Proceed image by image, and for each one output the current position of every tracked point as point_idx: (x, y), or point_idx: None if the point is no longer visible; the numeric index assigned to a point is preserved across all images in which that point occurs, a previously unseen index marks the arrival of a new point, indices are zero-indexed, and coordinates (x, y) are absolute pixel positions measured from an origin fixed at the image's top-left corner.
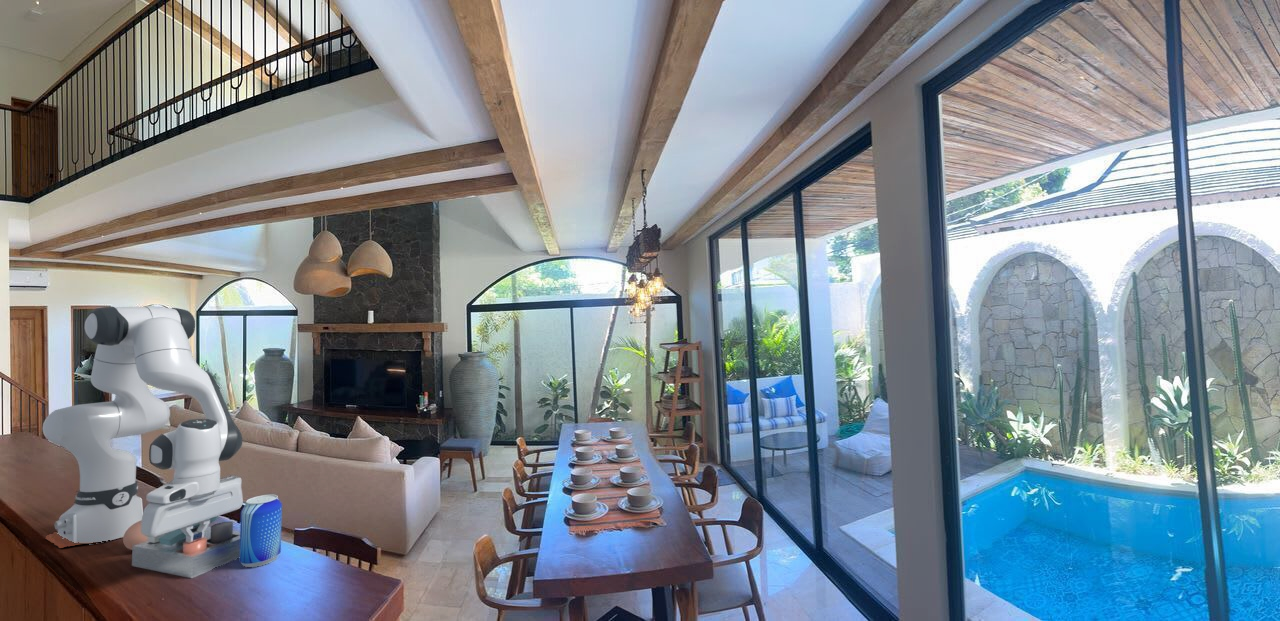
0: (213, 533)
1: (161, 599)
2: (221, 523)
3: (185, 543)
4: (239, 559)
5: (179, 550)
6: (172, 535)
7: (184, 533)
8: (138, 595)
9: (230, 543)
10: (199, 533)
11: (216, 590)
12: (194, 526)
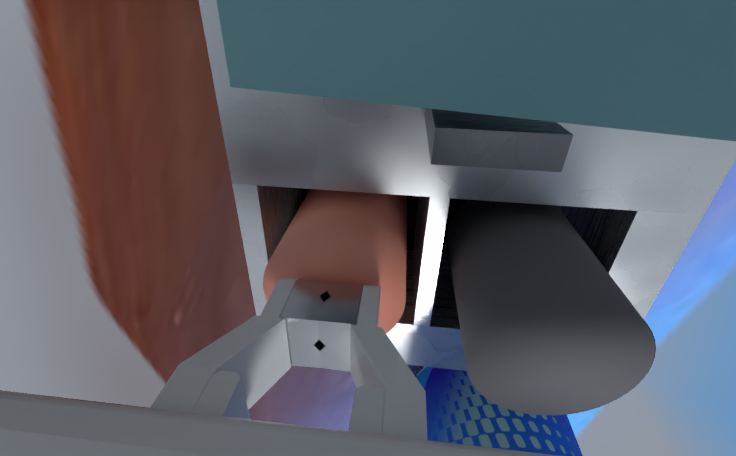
0: (460, 326)
1: (172, 317)
2: (599, 330)
3: (279, 271)
4: (423, 375)
5: (289, 184)
6: (284, 11)
7: (235, 334)
8: (131, 218)
9: (461, 365)
10: (337, 363)
11: (279, 403)
12: (499, 113)
